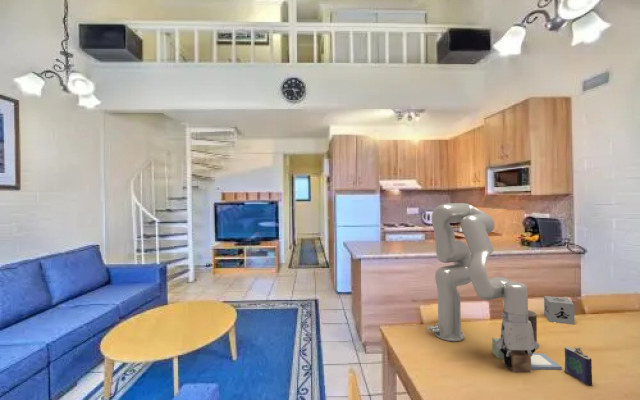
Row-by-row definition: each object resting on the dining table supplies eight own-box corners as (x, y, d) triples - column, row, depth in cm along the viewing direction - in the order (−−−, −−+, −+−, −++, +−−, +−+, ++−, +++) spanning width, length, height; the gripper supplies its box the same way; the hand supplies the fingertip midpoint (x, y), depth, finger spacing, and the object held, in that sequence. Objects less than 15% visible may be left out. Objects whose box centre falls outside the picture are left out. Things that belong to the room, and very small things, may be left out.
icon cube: (544, 314, 167) (544, 295, 167) (567, 317, 163) (567, 297, 163) (549, 322, 158) (549, 301, 158) (574, 324, 154) (574, 304, 154)
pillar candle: (528, 351, 129) (528, 314, 129) (504, 341, 138) (504, 307, 137) (541, 346, 133) (542, 310, 133) (518, 337, 142) (518, 303, 142)
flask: (562, 371, 114) (562, 341, 114) (570, 370, 115) (569, 341, 115) (587, 386, 105) (587, 354, 105) (595, 385, 106) (595, 353, 105)
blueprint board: (527, 369, 116) (527, 366, 116) (512, 355, 126) (512, 352, 126) (561, 369, 115) (561, 366, 115) (543, 355, 125) (543, 353, 125)
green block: (498, 359, 124) (498, 343, 124) (492, 352, 129) (492, 337, 129) (511, 359, 124) (511, 343, 123) (505, 352, 129) (504, 337, 128)
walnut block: (513, 372, 114) (513, 356, 114) (504, 363, 120) (504, 348, 120) (530, 372, 114) (530, 355, 114) (520, 363, 120) (520, 347, 120)
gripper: (497, 320, 113) (499, 371, 113) (547, 320, 113) (548, 371, 113) (487, 313, 121) (488, 360, 121) (533, 312, 120) (534, 360, 120)
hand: (517, 365), depth 117 cm, fingers closed on walnut block, 6 cm apart
